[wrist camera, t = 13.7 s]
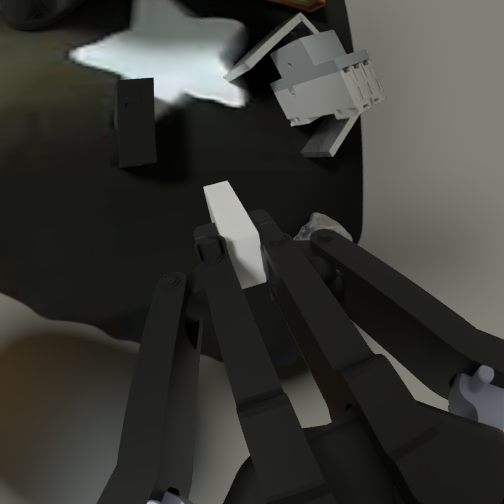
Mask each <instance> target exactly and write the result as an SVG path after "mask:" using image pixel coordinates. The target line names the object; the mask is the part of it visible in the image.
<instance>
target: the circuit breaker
mask: <svg viewBox="0 0 504 504" xmlns="http://www.w3.org/2000/svg"><path fill="white" fill-rule="evenodd" d="M288 35H289V37H290V39H291V41H292V42H291V43H289V44H287V45H285V46H284V47H282V48H280V49H278V50H276V51H274V52H273V53H271V54H270V56H271V58H272V60H273V62H274V63H275V65H276V67H277V69H278V71H279V73H280V75H281V77H282V79H279V80H277V81H275V82H273V83H270V86H271V88H272V89H273V91H274V93H275V95H276V97H277V99H278V101H279V103H280V105H281V107H282V109H283V111H284V113H285V115H286V117H287V119H290V121H291V124H290V125H291V126H294V125H303V124H309V123H310V122H312V121H314V120H316V119H317V118H319V117H321V116H323V115H328V114H335V117H336V119H344V118H350V117H352V116H355V115H359V114H361V113H362V112H364V111H366V110H368V109H369V108H371V107H372V106H374V105H376V104H377V103H379V102H381V101H383V100H384V99H386V97H384V95H383V93H382V92H383V89H382V86H381V84H380V81H379V79H378V77H377V75H376V72H375V70H374V67H373V65H372V63H371V60H370V58H369V56H368V54H367V52H366V50H361V51H357V52H354V53H350V54H346V53H345V51H344V49H343V47H342V45H341V43H340V41H339V39H338V37H337V35H336V33H335V31H334V30H331V31H326V32H320V33H317V34H310V32H309V30H308V28H306V29H303V30H300V31H294V32H291V33H290V34H288ZM366 60H367V61H366ZM362 61H363V62H362Z"/></svg>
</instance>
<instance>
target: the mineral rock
mask: <svg viewBox="0 0 504 504" xmlns="http://www.w3.org/2000/svg"><path fill="white" fill-rule="evenodd" d="M310 217H311V218H310V221H309V223H307V224H306V225H305V226H303V227H302V228H301V230H300V232H299V234H298V235H296V236H295V237H294V238H293V240H310V235H311V233H312V232H314V231H316V230H319V229H331V230H334V231H336V232H337V233H339V234H341V235H342V236H344V237H345V238H347V239H349V240H350V241H352V237H351V235H350V234H349V233H348V232H347V231H346V230H345V229H344V228H343V227H342V226H341V225H340V224H339V223H337V222H336V221H334V220H332V219H331V218H329V217H328V216H326V215H324V214H320V213H313V214H312V215H311V216H310Z"/></svg>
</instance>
